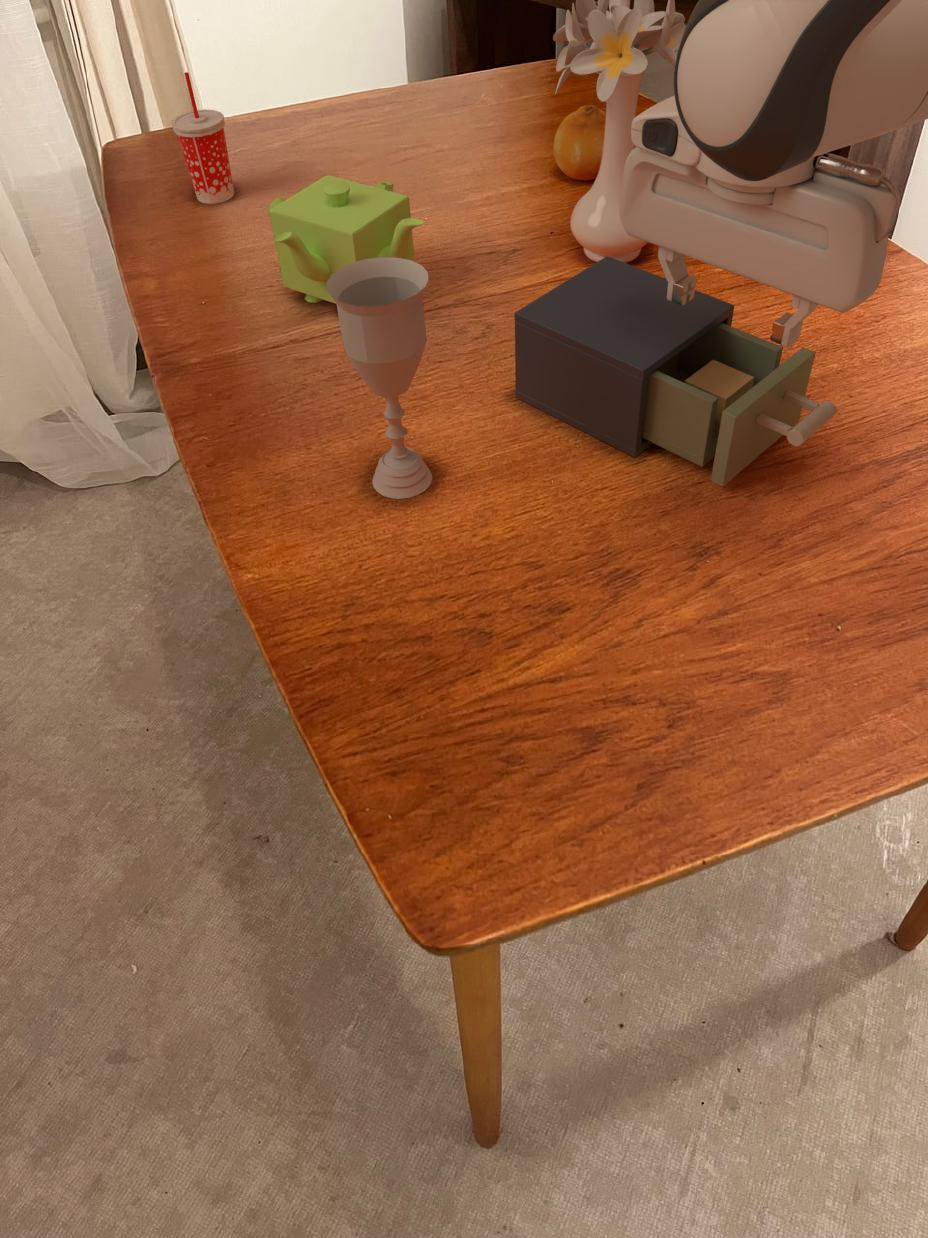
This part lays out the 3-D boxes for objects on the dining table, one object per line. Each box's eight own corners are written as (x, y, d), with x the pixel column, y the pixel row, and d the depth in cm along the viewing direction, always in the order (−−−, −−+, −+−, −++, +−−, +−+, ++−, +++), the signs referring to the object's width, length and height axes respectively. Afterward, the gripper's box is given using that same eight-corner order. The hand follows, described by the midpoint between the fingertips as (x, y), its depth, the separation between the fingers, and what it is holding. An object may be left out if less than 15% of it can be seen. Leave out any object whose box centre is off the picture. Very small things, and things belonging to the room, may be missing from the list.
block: (746, 417, 83) (754, 376, 80) (719, 439, 81) (726, 398, 78) (706, 399, 85) (713, 359, 82) (679, 420, 83) (684, 380, 80)
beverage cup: (246, 184, 123) (219, 62, 113) (233, 206, 119) (204, 82, 109) (199, 184, 124) (168, 63, 113) (184, 206, 120) (151, 83, 109)
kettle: (432, 317, 100) (422, 209, 91) (293, 341, 98) (271, 233, 90) (405, 248, 110) (394, 145, 101) (279, 269, 108) (258, 166, 100)
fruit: (587, 178, 114) (607, 103, 111) (532, 167, 118) (550, 95, 116) (622, 192, 120) (642, 122, 118) (569, 182, 125) (586, 113, 122)
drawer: (843, 441, 82) (864, 370, 77) (768, 510, 76) (785, 439, 71) (678, 368, 90) (686, 300, 85) (599, 426, 85) (604, 357, 80)
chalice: (367, 513, 80) (335, 314, 66) (352, 463, 84) (318, 267, 71) (454, 494, 81) (439, 294, 68) (434, 446, 85) (416, 249, 72)
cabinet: (720, 391, 89) (735, 304, 82) (635, 458, 83) (643, 370, 77) (601, 339, 95) (607, 255, 89) (515, 397, 90) (514, 312, 83)
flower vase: (642, 205, 114) (663, -48, 96) (690, 283, 102) (725, 10, 83) (532, 218, 113) (532, -35, 95) (567, 298, 101) (575, 26, 82)
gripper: (931, 158, 62) (875, 350, 72) (666, 87, 72) (649, 264, 82) (882, 193, 59) (830, 388, 69) (612, 114, 69) (602, 294, 79)
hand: (730, 320), depth 76 cm, fingers open, 8 cm apart
